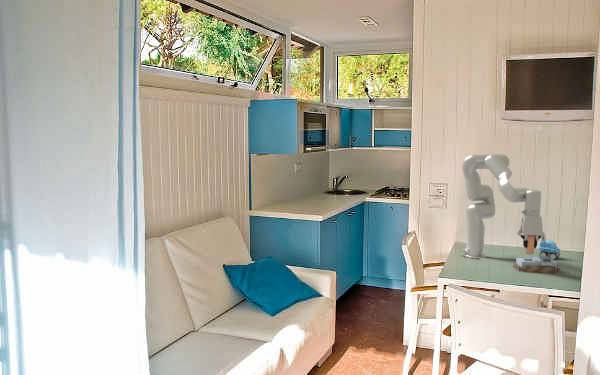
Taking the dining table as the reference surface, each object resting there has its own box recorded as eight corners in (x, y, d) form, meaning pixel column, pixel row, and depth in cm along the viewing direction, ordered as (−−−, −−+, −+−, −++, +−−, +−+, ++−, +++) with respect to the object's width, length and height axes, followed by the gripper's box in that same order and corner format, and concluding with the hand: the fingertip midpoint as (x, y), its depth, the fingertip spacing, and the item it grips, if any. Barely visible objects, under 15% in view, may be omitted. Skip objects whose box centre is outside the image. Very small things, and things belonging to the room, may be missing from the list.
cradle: (519, 274, 278) (520, 266, 277) (511, 268, 291) (511, 260, 290) (561, 276, 277) (561, 267, 276) (551, 269, 290) (551, 261, 289)
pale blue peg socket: (523, 272, 277) (523, 259, 276) (514, 265, 291) (514, 253, 290) (558, 273, 276) (559, 261, 275) (548, 266, 290) (548, 254, 289)
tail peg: (527, 254, 281) (528, 235, 280) (524, 252, 285) (525, 233, 284) (534, 254, 281) (536, 235, 279) (532, 252, 284) (533, 234, 283)
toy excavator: (531, 253, 327) (533, 225, 325) (561, 258, 316) (563, 229, 314) (527, 255, 320) (529, 227, 318) (557, 260, 310) (559, 231, 308)
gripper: (518, 214, 277) (516, 248, 279) (551, 214, 276) (549, 249, 278) (513, 211, 285) (511, 245, 287) (545, 212, 284) (543, 246, 286)
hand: (529, 247), depth 282 cm, fingers closed on tail peg, 4 cm apart
